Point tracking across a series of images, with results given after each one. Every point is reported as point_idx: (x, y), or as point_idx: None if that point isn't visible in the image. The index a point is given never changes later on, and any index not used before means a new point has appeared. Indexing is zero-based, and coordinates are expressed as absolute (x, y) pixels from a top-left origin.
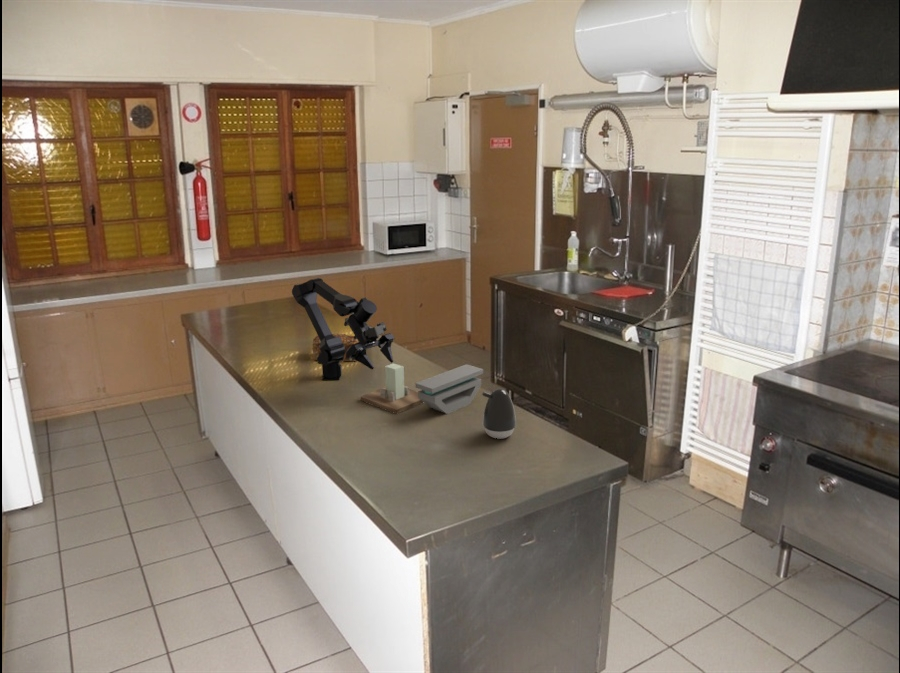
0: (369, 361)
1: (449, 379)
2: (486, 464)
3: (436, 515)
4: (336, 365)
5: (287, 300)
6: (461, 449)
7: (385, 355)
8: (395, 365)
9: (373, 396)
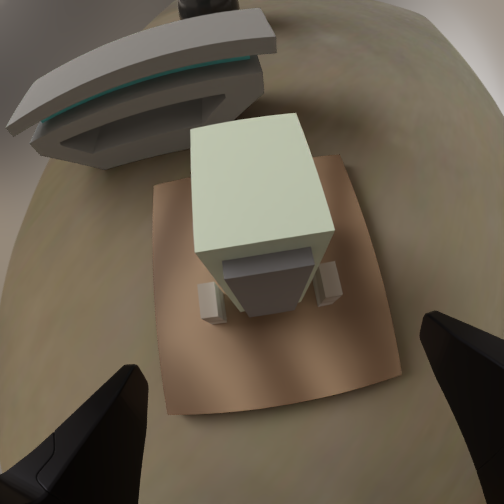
0: (492, 343)
1: (151, 33)
2: (295, 7)
3: (394, 9)
4: None
5: None
6: (299, 24)
7: (131, 493)
8: (225, 184)
9: (354, 338)
